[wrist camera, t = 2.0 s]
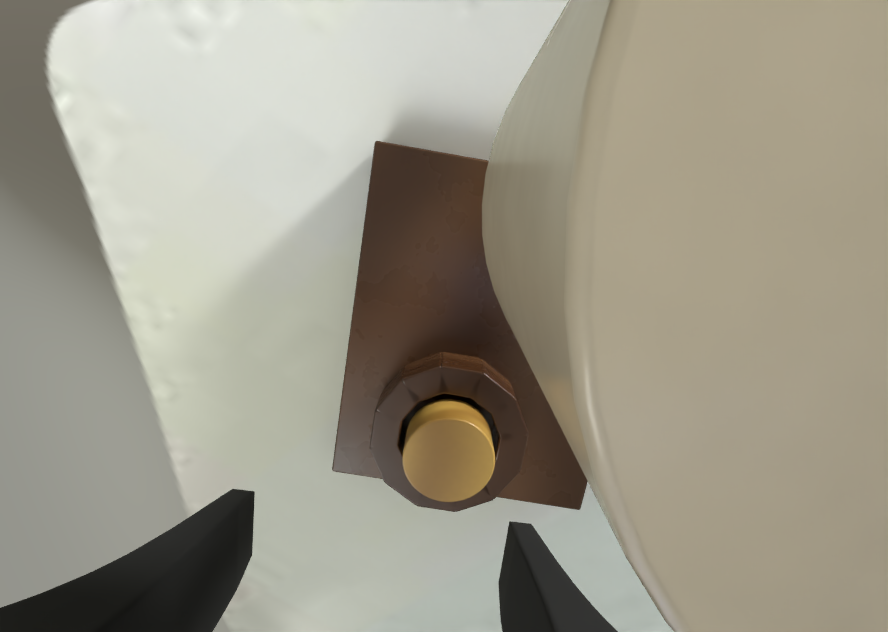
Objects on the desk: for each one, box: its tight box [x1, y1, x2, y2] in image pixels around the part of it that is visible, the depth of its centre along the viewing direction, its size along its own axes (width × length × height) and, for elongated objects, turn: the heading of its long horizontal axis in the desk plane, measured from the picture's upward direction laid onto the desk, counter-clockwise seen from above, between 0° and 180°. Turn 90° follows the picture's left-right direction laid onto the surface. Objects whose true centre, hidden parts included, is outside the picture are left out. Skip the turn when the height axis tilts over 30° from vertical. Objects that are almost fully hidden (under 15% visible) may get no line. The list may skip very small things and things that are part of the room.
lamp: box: [482, 0, 888, 632], centre depth 10 cm, size 6×6×17 cm
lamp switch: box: [402, 399, 495, 502], centre depth 20 cm, size 4×4×2 cm
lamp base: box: [332, 141, 587, 512], centre depth 21 cm, size 12×15×4 cm
